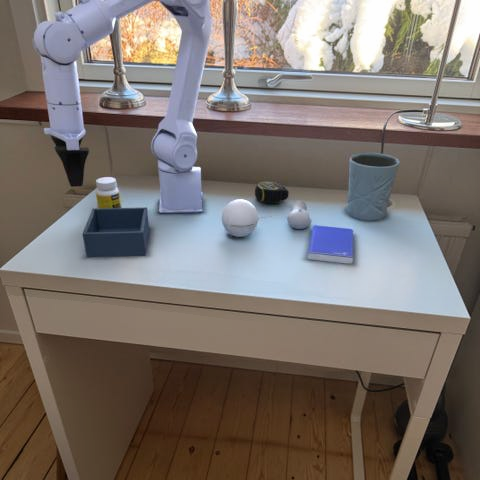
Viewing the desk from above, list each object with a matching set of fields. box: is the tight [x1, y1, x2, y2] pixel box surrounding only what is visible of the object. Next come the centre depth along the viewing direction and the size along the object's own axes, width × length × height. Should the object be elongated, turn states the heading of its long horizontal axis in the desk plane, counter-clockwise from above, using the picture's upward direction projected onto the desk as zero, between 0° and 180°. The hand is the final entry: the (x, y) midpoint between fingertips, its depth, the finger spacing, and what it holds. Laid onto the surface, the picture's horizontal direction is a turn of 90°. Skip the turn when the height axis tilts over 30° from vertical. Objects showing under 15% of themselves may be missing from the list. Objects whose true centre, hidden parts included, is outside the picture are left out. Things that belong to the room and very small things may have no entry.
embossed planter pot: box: [346, 152, 401, 222], centre depth 101 cm, size 10×10×12 cm
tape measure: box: [254, 180, 289, 204], centre depth 109 cm, size 7×7×4 cm
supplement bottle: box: [95, 176, 122, 208], centre depth 97 cm, size 5×5×8 cm
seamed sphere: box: [221, 198, 273, 238], centre depth 92 cm, size 10×7×7 cm
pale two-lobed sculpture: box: [286, 199, 312, 230], centre depth 98 cm, size 4×8×5 cm
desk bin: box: [82, 206, 150, 258], centre depth 89 cm, size 11×12×5 cm
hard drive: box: [307, 224, 354, 265], centre depth 90 cm, size 2×8×12 cm
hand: (74, 179), depth 89 cm, fingers open, 7 cm apart
